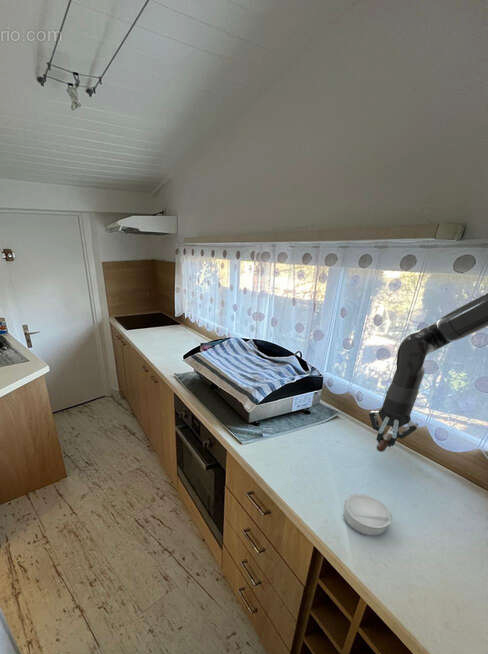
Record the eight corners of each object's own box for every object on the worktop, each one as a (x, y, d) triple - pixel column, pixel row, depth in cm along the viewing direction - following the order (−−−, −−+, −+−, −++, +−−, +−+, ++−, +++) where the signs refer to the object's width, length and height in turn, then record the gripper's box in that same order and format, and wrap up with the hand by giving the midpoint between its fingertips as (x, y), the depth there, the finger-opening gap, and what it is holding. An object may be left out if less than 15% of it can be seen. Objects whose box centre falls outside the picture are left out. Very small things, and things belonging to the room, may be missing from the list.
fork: (391, 427, 109) (393, 422, 107) (399, 430, 107) (401, 424, 106) (374, 451, 97) (376, 444, 96) (382, 454, 95) (385, 448, 94)
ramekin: (366, 547, 76) (371, 533, 74) (331, 515, 85) (335, 501, 83) (396, 531, 80) (402, 518, 78) (359, 502, 89) (364, 489, 87)
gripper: (431, 399, 90) (412, 447, 98) (379, 386, 98) (365, 431, 107) (425, 409, 85) (406, 458, 93) (371, 394, 94) (357, 440, 102)
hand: (384, 443), depth 100 cm, fingers closed on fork, 2 cm apart
